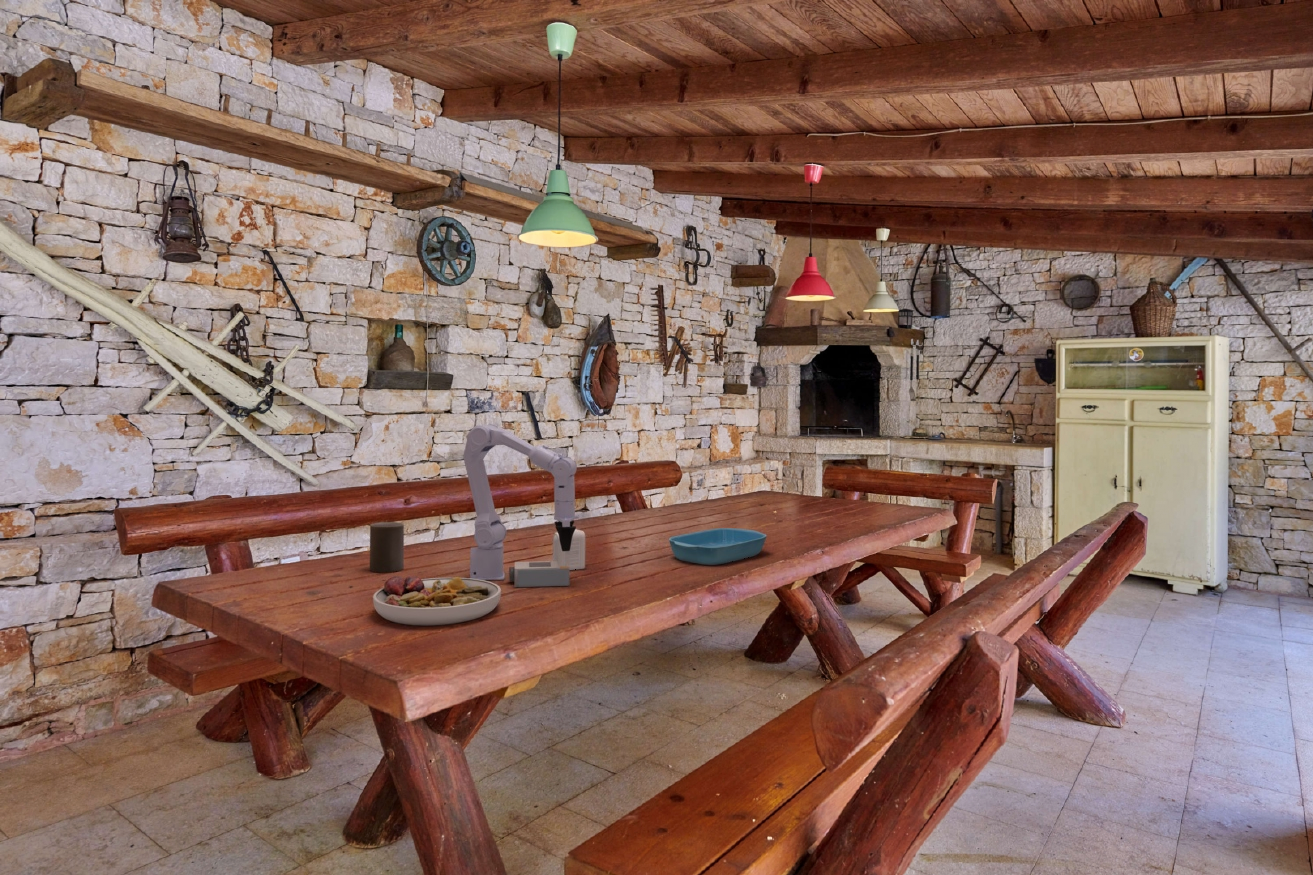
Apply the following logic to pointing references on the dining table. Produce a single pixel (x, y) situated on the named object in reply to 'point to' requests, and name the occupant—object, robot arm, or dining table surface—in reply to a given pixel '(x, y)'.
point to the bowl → (435, 600)
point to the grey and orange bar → (542, 577)
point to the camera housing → (531, 567)
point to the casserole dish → (717, 545)
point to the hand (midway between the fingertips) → (565, 548)
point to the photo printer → (576, 553)
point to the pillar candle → (386, 547)
